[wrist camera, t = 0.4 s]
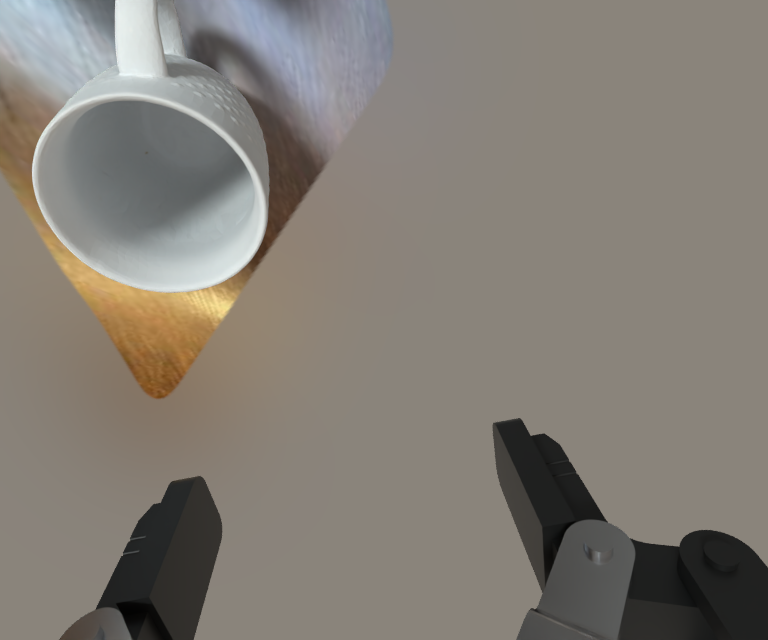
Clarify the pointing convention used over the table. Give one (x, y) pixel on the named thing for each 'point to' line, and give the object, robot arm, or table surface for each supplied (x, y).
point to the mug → (155, 164)
